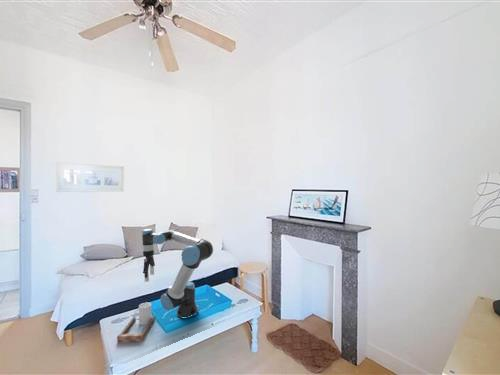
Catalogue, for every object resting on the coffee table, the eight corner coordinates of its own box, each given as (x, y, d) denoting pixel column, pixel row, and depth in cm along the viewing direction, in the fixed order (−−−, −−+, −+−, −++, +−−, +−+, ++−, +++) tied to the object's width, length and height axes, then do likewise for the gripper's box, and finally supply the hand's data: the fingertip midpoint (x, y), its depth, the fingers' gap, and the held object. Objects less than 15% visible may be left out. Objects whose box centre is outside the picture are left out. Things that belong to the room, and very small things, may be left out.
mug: (134, 327, 173) (133, 310, 172) (133, 321, 180) (133, 305, 180) (152, 322, 179) (152, 306, 178) (151, 317, 186) (150, 301, 186)
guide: (154, 320, 182) (154, 314, 182) (142, 341, 158) (141, 335, 158) (133, 321, 181) (133, 315, 181) (117, 342, 157) (117, 336, 157)
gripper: (148, 246, 203) (149, 272, 204) (137, 255, 178) (138, 285, 179) (157, 245, 204) (159, 271, 205) (148, 254, 179) (149, 284, 180)
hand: (149, 278), depth 192 cm, fingers open, 13 cm apart
